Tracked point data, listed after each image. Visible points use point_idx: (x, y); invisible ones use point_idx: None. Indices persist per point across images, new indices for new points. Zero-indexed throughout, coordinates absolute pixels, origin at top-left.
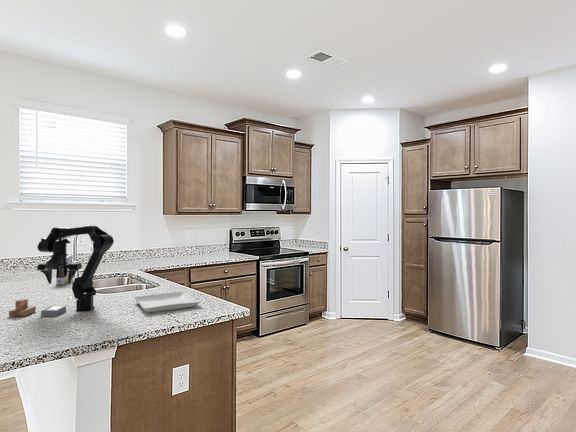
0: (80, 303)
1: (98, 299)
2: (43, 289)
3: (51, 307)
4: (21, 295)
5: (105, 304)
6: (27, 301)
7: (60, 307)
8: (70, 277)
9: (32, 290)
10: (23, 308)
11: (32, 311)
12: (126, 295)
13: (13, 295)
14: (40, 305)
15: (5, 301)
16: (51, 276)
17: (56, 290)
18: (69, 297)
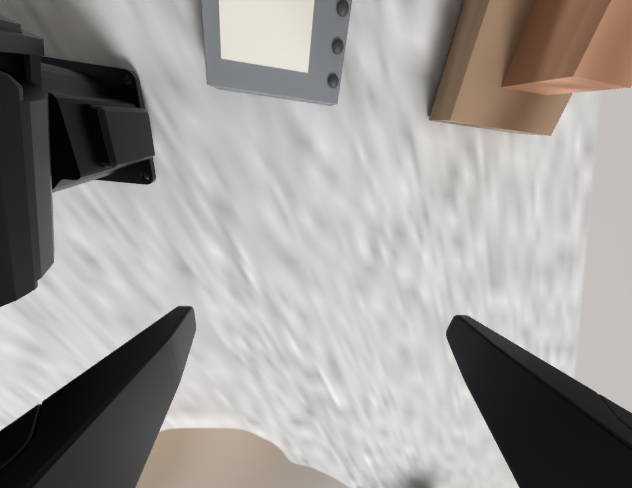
0: (49, 68)
1: None
2: (460, 464)
3: (315, 52)
4: None
5: None
6: (549, 76)
7: (225, 18)
8: (44, 403)
9: (491, 455)
10: (535, 11)
11: (447, 74)
12: None
13: None
14: (430, 272)
15: (573, 347)
16: (513, 456)
17: (418, 457)
18: (339, 386)
